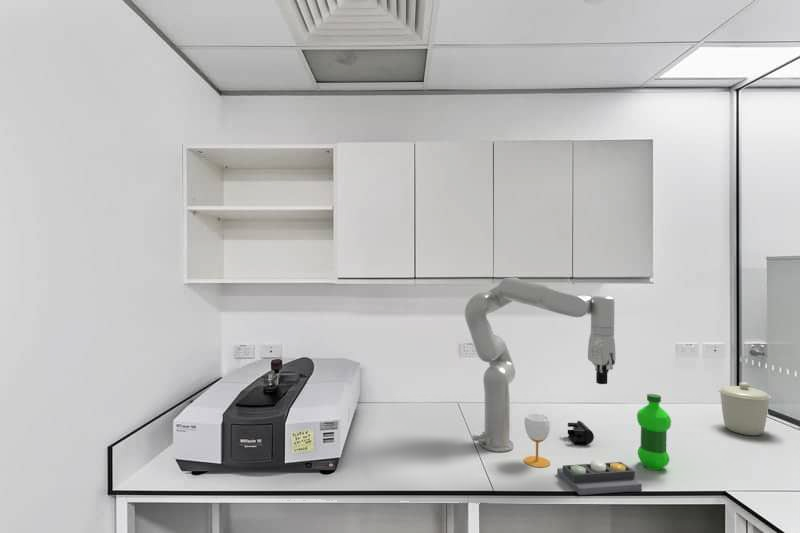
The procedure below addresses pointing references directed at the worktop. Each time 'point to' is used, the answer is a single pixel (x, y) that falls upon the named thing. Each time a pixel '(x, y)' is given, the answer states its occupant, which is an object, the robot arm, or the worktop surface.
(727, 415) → the canister
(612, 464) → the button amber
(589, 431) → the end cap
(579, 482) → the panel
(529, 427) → the cup
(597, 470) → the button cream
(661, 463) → the plastic bottle
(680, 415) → the worktop surface
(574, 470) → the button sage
